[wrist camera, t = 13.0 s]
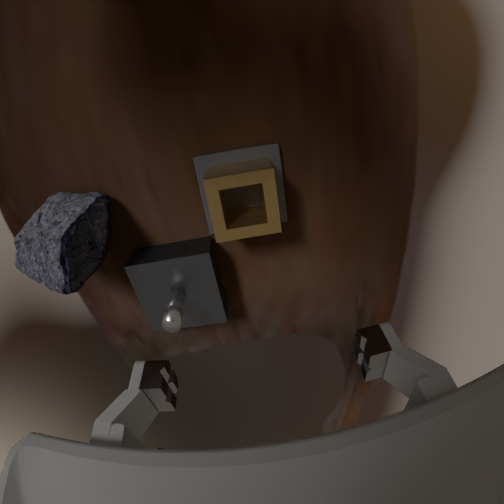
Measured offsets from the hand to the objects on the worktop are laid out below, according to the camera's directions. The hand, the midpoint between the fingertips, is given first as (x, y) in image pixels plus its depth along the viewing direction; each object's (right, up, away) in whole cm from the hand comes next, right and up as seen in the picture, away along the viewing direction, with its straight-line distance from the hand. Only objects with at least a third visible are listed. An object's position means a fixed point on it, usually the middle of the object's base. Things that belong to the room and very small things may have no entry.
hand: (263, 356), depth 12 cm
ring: (-2, +11, +20) cm, 23 cm away
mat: (-2, +11, +20) cm, 23 cm away
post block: (-9, +1, +25) cm, 27 cm away
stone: (-22, +9, +21) cm, 31 cm away
